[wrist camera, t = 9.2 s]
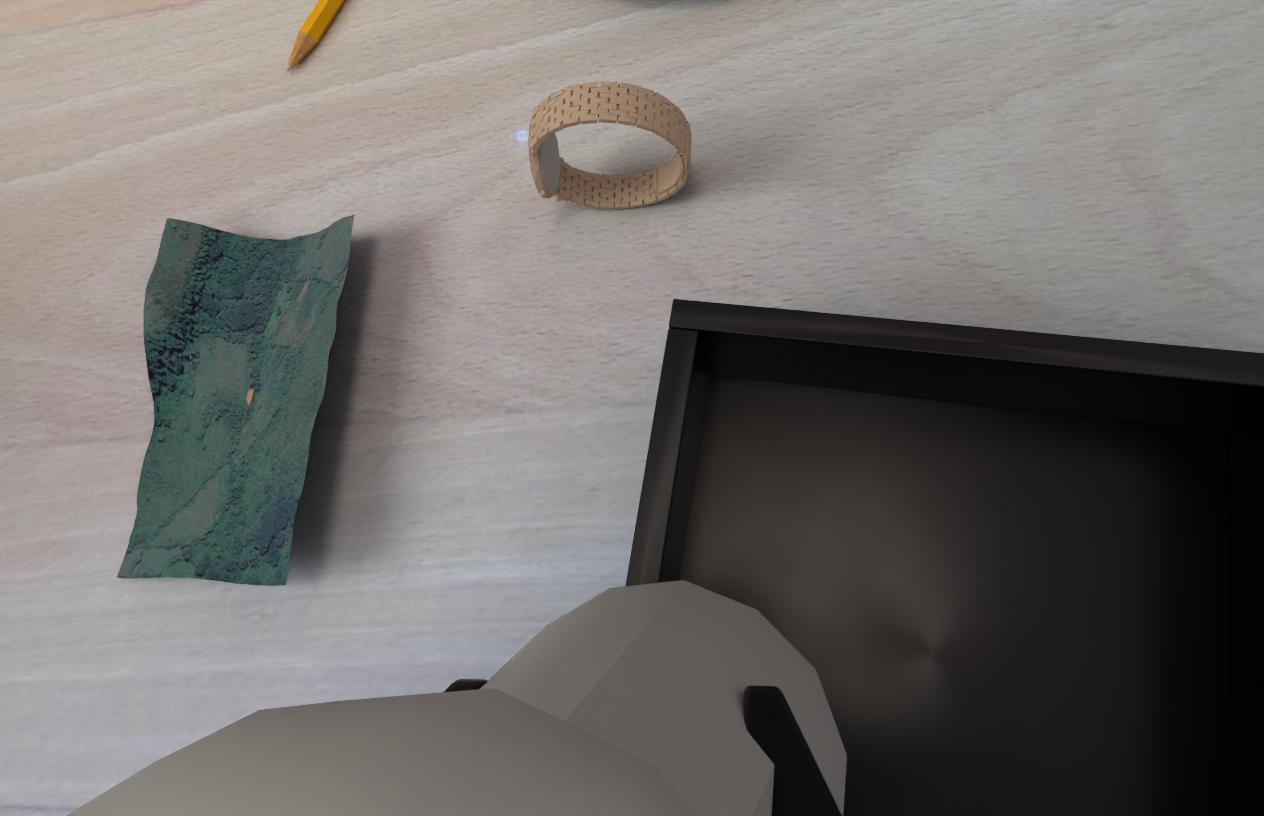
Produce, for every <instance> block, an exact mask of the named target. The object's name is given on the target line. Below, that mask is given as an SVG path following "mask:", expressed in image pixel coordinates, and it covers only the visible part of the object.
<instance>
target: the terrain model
mask: <svg viewBox="0 0 1264 816" xmlns="http://www.w3.org/2000/svg"><path fill="white" fill-rule="evenodd" d="M353 219H354V215H352V216H348V217H344V218H342V219H340V220H338V221H337V222H335V223H333V224H332V225H331V226H330V227H328V228H326V229H323V230H321V231H319V232H317V233H314V234H310V235H306V236H299V237H296V238H292V239H289V240H274V239H258V238H251V237H246V236H242V235H237V234H233V233H229V232H225V231H221V230H218V229H214V228H211V227H208V226H204V225H200V224H196V223H192V222H187V221H183V220H177V219H170V218H167V220H166V224H165V229H164V232H163V236H162V240H161V244H160V248H159V252H158V257H157V261H156V263H155V266H154V269H153V271H152V274H151V276H150V278H149V281H148V284H147V287H146V293H145V302H144V343H145V352H146V360H147V368H148V376H149V382H150V387H151V391H152V396H153V401H154V418H155V422H154V428H153V433H152V437H151V441H150V443H149V446H148V449H147V452H146V455H145V458H144V462H143V466H142V471H141V476H140V481H139V487H138V494H137V509H138V510H137V515H136V519H135V524H134V528H133V531H132V534H131V536H130V541H129V545H128V548H127V551H126V554H125V557H124V560H123V563H122V565H121V568H120V571H119V573H118V576H117V578H151V577H185V578H198V579H208V580H216V581H224V582H230V583H238V584H250V585H268V586H271V585H286V579H287V573H288V567H289V562H290V554H291V543H292V537H293V525H294V519H295V513H296V510H297V506H298V503H299V500H300V496H301V493H302V489H303V486H304V480H305V474H306V468H307V462H308V456H309V444H310V438H311V433H312V429H313V426H314V422H315V419H316V415H317V412H318V409H319V406H320V404H321V402H322V399H323V395H324V392H325V386H326V379H327V370H328V357H329V351H330V348H331V345H332V342H333V340H334V337H335V332H336V320H337V319H336V308H337V303H338V300H339V297H340V295H341V292H342V288H343V285H344V282H345V278H346V275H347V272H348V261H349V255H350V242H351V232H352V225H353Z"/></svg>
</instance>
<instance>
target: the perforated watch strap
mask: <svg viewBox="0 0 1264 816" xmlns="http://www.w3.org/2000/svg"><path fill="white" fill-rule="evenodd" d="M600 83H601V87H599V82H590V83H583V86H582V85H580V84H577V85H573V86H569V87H566V88H565V90H564V89H562V90H560V91H558V92H556V93H553V94H551V96H549V97H547V98H546V99H545V100H544V101H543V102H542V103H541V105H538V106H537V107H535V108H534V110H533V114H532V120H531V123H530V130H529V155H530V163H531V171H532V174H533V178H534V182H535V185H536V187H537V190H538V192H539V193H540V196H541V197H543V198H551V197H552V196H554V195H555V198H556V200H557V202H558V201H561V199H562V200H565V201H568V200H569V201H571V202H573V203H576V204H579V205H584V206H588V207H593V208H598V207H600V209H614V205H615V209H629V204H630V208H635V207H642V206H644V205H645V206H646V205H650V204H654V203H658V202H659V201H662V200H664V199H667V198H669V197H670V196H672V195H674V194H675V193H676V192H677V191H679V190H680V189H681V188H682V187H683V185H684V184H685V183H686V180H687V177H688V175H689V173H690V158H691V131H690V125H689V123H688V121H686V118H685V116H684V114H683V113H682V111H681V110H680V109H679V108H678V107H677V106H676V105H674V104H673V103H672V102H670V101H669V99H667V98H665V97H664V96H662V95H660V94H658V93H657V92H656V93H654V91H652V90H649V89H645V88H642V87H639V86H638V88H637V85H632V84H626V83H620V84H619V86H618V83H617V82H600ZM609 90H610V92H609ZM608 92H609V93H608ZM627 92H628V95H627ZM618 96H619V99H618ZM636 99H637V102H636ZM608 101H609V103H608ZM598 106H599V109H598ZM580 108H581V110H580ZM617 108H618V110H617ZM644 109H645V110H644ZM608 112H609V115H608ZM589 113H590V114H589ZM598 118H599V122H603V123H616V122H617V120H618V123H619V124H625V125H632V126H635V121H636V127H639V128H642V129H645V130H648V131H651V130H652V132H653V133H655V134H657V135H659V136H661V137H663V138H665V139H666V140H667V141H668V142H670V143H671V144H672V145H673V146H676V148H677V150H678V151H677V153H676V154H675V156H674V157H673V159H672V160H671V161H669V163H666V164H664V165H662V166H660V167H658V169H657V168H656V169H653V170H650V171H646V172H645V174H644V173H643V172H642V173H637V174H632V175H617V176H616V178H615V175H601V179H600V174H594V173H589V172H586V173H585V171H582V170H579V169H576V168H572V167H571V166H570V165H568V164H567V163H565V162H564V161H563V158H559V150H558V142H557V138H556V136H555V132H557V131H559V130H561V129H564V128H566V127H570V126H574V125H578V124H580V122H581V124H588V123H597V120H598ZM644 120H645V121H644ZM630 178H631V179H630ZM607 182H608V184H607ZM622 182H623V184H622ZM577 185H578V188H577ZM600 185H601V186H600ZM599 187H600V188H599ZM584 192H585V195H584ZM576 196H577V197H576ZM591 200H592V201H591ZM622 200H623V201H622Z"/></svg>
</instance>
